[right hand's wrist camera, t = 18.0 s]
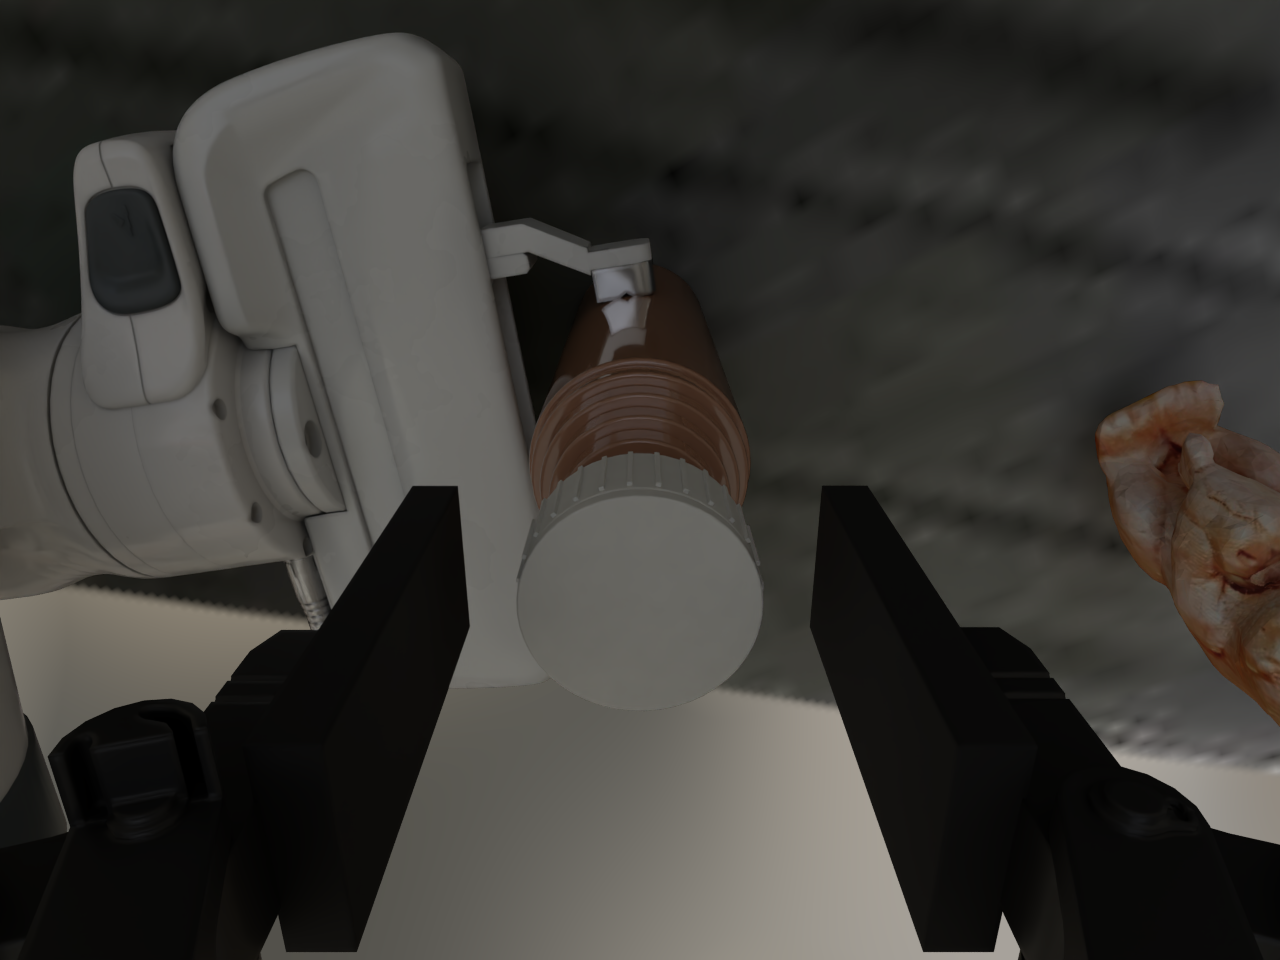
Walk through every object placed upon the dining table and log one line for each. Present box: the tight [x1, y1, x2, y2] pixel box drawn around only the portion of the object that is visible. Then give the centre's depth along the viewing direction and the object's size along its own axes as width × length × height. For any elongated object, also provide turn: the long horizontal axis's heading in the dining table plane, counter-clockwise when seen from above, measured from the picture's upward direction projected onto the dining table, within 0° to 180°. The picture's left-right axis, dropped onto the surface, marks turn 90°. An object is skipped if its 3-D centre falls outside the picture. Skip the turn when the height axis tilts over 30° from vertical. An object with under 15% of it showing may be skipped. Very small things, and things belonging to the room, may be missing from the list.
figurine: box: [1095, 380, 1280, 727], centre depth 27 cm, size 6×8×15 cm
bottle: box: [529, 265, 751, 510], centre depth 23 cm, size 5×5×20 cm
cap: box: [516, 451, 764, 711], centre depth 14 cm, size 4×4×2 cm
